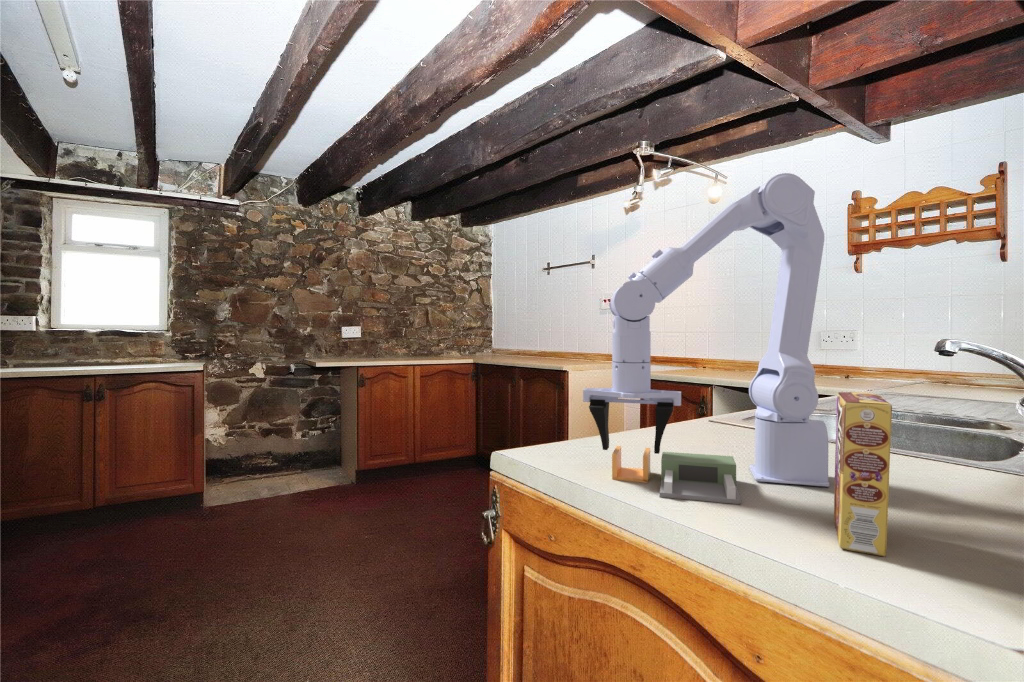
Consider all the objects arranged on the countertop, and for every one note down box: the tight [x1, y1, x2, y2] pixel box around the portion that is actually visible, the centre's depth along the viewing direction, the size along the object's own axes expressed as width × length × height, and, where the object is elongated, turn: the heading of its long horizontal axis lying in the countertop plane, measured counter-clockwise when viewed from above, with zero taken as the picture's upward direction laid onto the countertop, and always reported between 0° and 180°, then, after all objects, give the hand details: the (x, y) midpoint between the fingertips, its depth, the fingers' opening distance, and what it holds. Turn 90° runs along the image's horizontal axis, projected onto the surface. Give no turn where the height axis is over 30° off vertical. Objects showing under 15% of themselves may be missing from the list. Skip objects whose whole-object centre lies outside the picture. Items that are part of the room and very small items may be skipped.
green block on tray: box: [659, 451, 742, 505], centre depth 73 cm, size 10×11×4 cm
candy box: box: [833, 391, 893, 557], centre depth 55 cm, size 9×4×15 cm, turn 152°
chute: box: [611, 445, 651, 483], centre depth 79 cm, size 5×6×4 cm
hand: (631, 450), depth 79 cm, fingers open, 7 cm apart
